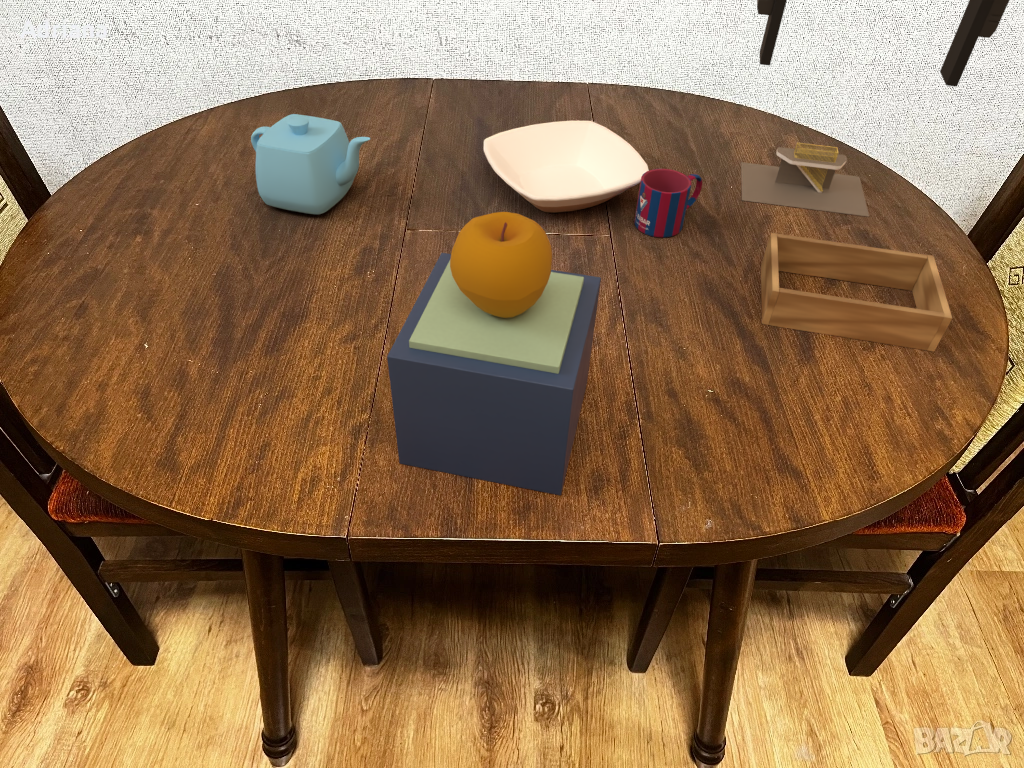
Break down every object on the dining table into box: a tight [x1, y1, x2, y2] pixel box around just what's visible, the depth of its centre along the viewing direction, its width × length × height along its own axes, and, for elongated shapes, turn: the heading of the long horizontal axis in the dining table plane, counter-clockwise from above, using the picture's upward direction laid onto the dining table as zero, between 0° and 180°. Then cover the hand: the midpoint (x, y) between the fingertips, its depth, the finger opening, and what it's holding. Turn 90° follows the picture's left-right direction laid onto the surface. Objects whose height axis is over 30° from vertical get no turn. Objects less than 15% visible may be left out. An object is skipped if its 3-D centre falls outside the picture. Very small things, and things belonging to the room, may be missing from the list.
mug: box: [633, 168, 703, 239], centre depth 105 cm, size 7×10×7 cm
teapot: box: [250, 113, 372, 215], centre depth 105 cm, size 12×18×12 cm
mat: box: [409, 261, 584, 374], centre depth 69 cm, size 13×13×1 cm
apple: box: [450, 211, 553, 318], centre depth 65 cm, size 8×8×9 cm
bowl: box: [483, 120, 650, 213], centre depth 111 cm, size 22×22×5 cm
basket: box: [760, 232, 953, 352], centre depth 93 cm, size 13×20×5 cm, turn 77°
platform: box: [740, 142, 870, 217], centre depth 113 cm, size 12×18×7 cm, turn 78°
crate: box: [386, 252, 602, 496], centre depth 74 cm, size 16×16×14 cm
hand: (854, 69), depth 59 cm, fingers open, 13 cm apart
